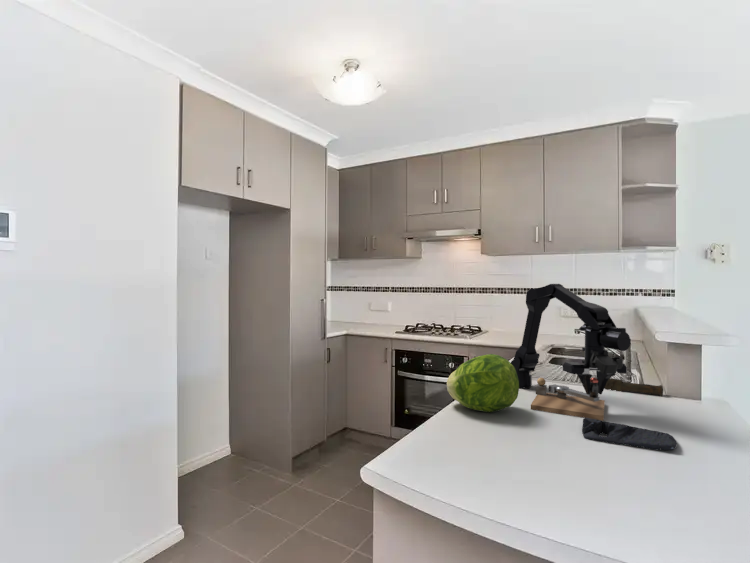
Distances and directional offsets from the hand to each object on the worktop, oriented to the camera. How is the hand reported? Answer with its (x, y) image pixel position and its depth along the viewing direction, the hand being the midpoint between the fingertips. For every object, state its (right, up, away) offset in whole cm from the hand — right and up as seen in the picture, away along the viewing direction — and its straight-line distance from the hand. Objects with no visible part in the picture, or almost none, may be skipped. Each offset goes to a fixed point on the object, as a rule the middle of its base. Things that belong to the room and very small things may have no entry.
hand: (594, 394), depth 135 cm
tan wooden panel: (-6, -6, +5) cm, 10 cm away
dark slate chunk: (-2, -7, -21) cm, 22 cm away
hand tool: (+27, -6, +23) cm, 36 cm away
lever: (-3, -3, +7) cm, 8 cm away
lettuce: (-36, -6, +3) cm, 36 cm away
